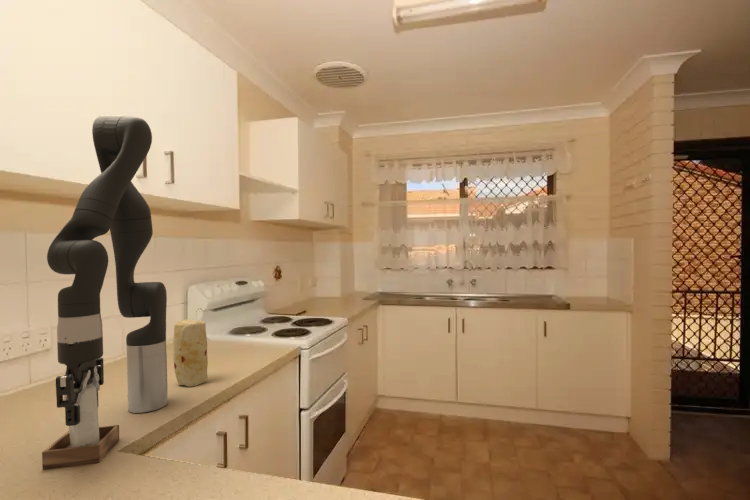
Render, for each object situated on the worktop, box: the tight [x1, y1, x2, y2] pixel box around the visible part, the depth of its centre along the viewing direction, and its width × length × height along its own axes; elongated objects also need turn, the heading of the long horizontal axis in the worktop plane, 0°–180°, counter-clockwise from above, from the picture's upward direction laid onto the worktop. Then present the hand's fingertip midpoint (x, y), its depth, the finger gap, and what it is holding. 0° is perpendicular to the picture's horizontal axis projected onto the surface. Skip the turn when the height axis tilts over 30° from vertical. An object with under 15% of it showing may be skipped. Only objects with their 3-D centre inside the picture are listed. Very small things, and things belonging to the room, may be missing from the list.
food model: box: [172, 319, 209, 388], centre depth 123 cm, size 10×7×20 cm
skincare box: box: [68, 383, 100, 447], centre depth 82 cm, size 6×4×12 cm
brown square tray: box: [41, 424, 120, 470], centre depth 82 cm, size 10×10×3 cm
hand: (82, 416), depth 82 cm, fingers closed on skincare box, 7 cm apart
